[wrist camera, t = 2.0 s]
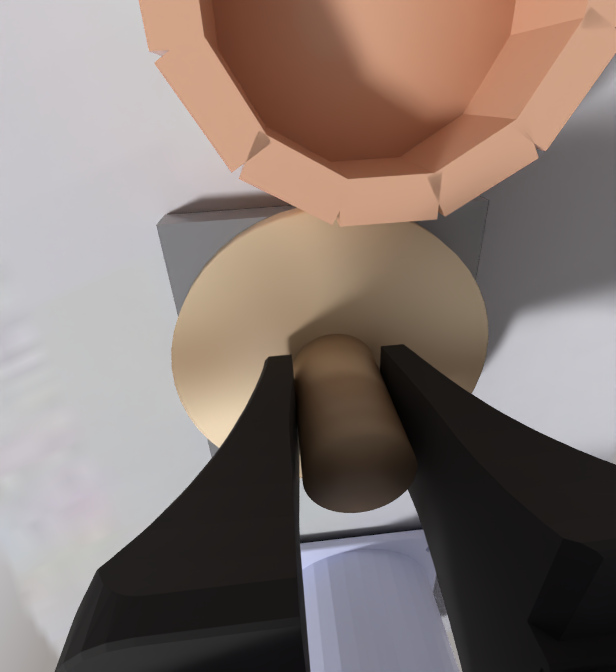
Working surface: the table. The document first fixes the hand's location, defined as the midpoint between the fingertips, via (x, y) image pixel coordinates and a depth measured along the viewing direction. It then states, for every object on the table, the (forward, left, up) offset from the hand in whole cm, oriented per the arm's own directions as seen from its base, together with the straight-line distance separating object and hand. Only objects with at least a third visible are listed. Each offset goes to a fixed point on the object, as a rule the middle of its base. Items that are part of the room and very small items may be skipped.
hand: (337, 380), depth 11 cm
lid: (0, 0, -1) cm, 1 cm away
